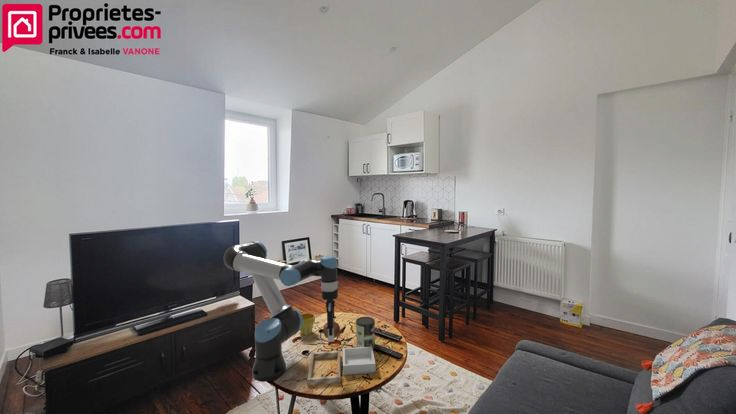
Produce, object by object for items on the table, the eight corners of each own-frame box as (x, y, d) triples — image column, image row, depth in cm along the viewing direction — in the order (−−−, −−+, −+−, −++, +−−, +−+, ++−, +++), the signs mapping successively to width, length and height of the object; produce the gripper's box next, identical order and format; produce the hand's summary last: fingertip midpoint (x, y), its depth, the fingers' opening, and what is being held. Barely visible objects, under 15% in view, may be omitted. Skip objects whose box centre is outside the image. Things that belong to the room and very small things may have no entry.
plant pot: (306, 326, 185) (306, 311, 184) (318, 331, 179) (318, 315, 178) (293, 333, 176) (293, 317, 176) (305, 338, 170) (305, 321, 170)
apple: (319, 339, 138) (319, 323, 138) (329, 332, 145) (328, 316, 145) (334, 343, 135) (333, 326, 134) (343, 335, 142) (342, 318, 141)
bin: (343, 375, 136) (343, 365, 136) (342, 356, 151) (342, 348, 151) (375, 372, 138) (375, 363, 137) (372, 354, 153) (371, 346, 152)
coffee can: (376, 341, 166) (376, 317, 165) (373, 351, 156) (372, 325, 155) (358, 339, 168) (358, 315, 167) (354, 349, 158) (353, 323, 157)
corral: (307, 385, 130) (307, 379, 130) (311, 357, 151) (311, 352, 151) (340, 382, 131) (340, 377, 131) (340, 355, 152) (340, 350, 152)
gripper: (336, 296, 129) (339, 347, 130) (338, 282, 149) (340, 326, 151) (319, 297, 128) (321, 349, 130) (323, 283, 149) (325, 327, 150)
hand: (331, 336), depth 140 cm, fingers closed on apple, 8 cm apart
